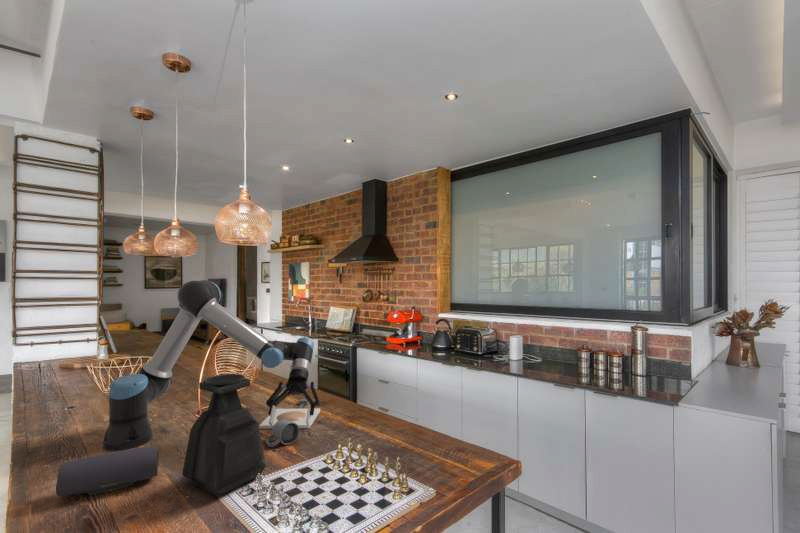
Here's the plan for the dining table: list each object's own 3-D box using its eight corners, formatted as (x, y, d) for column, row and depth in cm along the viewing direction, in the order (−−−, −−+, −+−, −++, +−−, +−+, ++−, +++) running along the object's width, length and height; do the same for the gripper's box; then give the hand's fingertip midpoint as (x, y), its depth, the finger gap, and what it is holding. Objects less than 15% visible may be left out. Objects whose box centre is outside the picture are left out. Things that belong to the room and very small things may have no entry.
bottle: (180, 484, 114) (181, 380, 115) (232, 461, 128) (232, 369, 129) (215, 503, 104) (216, 389, 105) (267, 476, 118) (267, 376, 119)
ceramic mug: (289, 435, 149) (288, 414, 149) (300, 441, 143) (299, 420, 143) (262, 444, 142) (261, 422, 142) (272, 451, 136) (272, 428, 136)
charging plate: (309, 428, 156) (309, 423, 156) (259, 428, 156) (259, 423, 156) (325, 403, 187) (325, 398, 187) (283, 403, 187) (283, 399, 187)
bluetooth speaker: (158, 471, 122) (159, 439, 122) (156, 485, 114) (156, 450, 114) (64, 491, 111) (65, 455, 111) (54, 508, 103) (55, 469, 103)
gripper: (331, 377, 162) (324, 427, 146) (271, 377, 162) (257, 428, 147) (328, 367, 157) (321, 418, 141) (266, 368, 157) (252, 419, 141)
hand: (288, 423), depth 144 cm, fingers open, 13 cm apart
